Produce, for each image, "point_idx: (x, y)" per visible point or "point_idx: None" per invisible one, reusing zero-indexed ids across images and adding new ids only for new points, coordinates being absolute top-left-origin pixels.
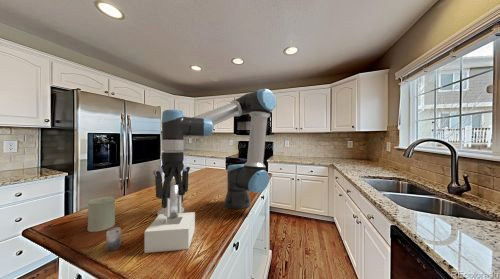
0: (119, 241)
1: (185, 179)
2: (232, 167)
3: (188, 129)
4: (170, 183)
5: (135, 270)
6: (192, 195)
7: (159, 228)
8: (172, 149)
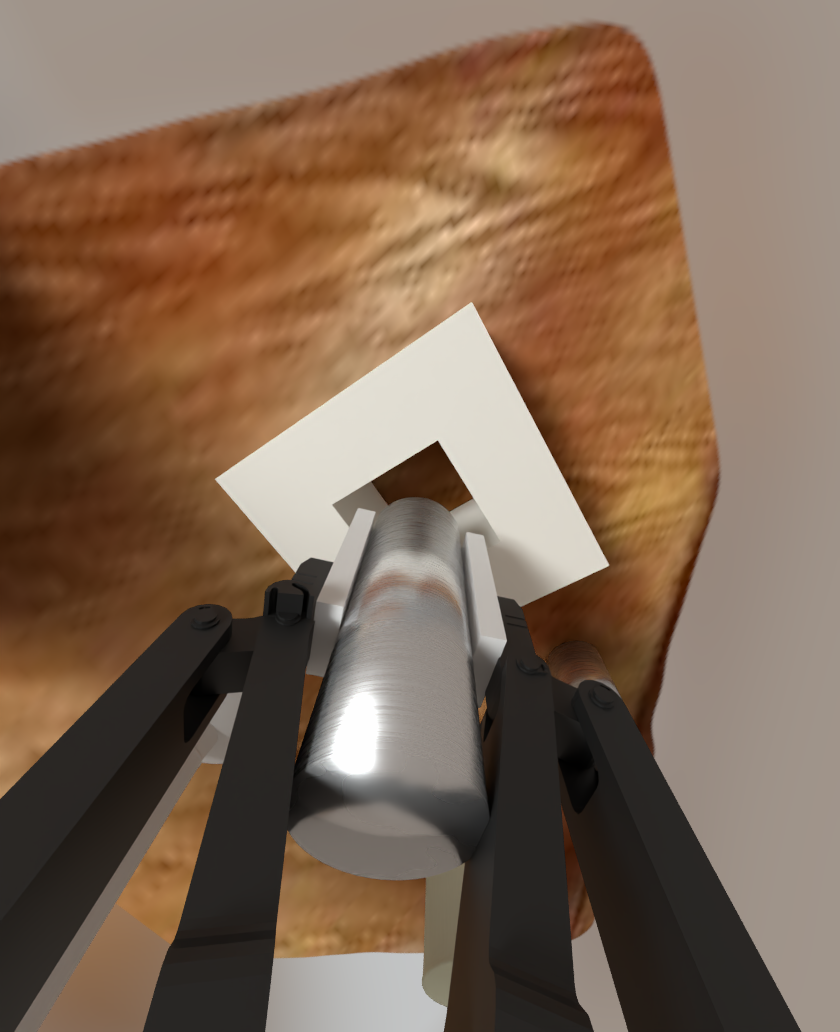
0: (573, 661)
1: (83, 818)
2: None
3: None
4: (82, 932)
5: (688, 434)
6: None
7: (545, 516)
8: None
